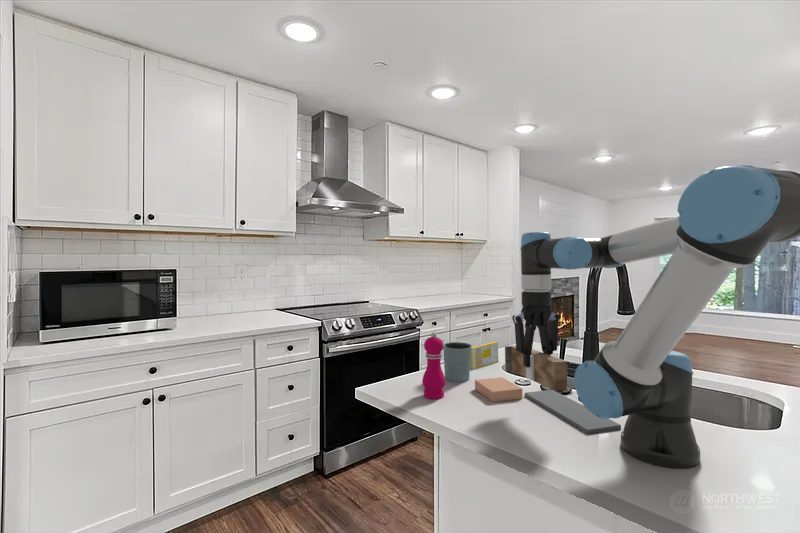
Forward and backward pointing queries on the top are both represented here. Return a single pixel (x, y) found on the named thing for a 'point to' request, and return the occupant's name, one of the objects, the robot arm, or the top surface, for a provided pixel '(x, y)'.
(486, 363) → the candy box
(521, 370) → the wooden block
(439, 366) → the pepper mill
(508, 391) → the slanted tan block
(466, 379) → the grey-blue cup
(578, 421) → the charcoal mat
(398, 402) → the top surface
